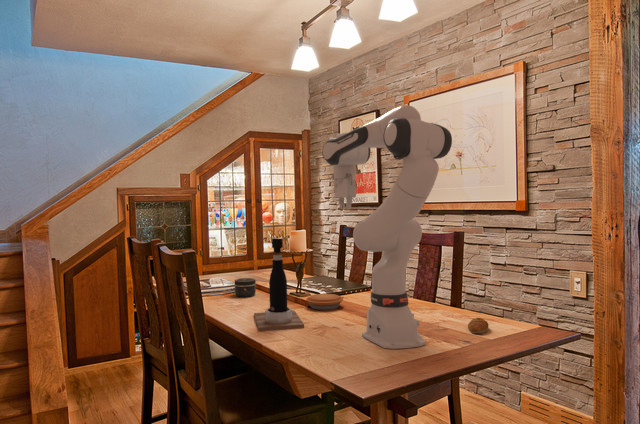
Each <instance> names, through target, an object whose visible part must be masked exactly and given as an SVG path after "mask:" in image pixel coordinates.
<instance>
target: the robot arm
mask: <svg viewBox="0 0 640 424" xmlns="http://www.w3.org/2000/svg"><path fill="white" fill-rule="evenodd" d="M452 144H453V136H452V133H451V131H450V129H448V128H446V127H444V126H442V125H441V124H437V123H433V122H426V121H423V120H422V118H421V113H420V112H419V111H418V110H417V109H416V108H415V107H414V106H411V105H408V104H406V105H401V106H398V107H395V108H393V109H392V110H390V111H388V112H386V113H384V114H382V115H380V117H378V118H376V119H374V120H372V121H370V122H368V123H366V124H364V125H361V126H358V127H356V128H354V129H352V130H350V131H349V132H341V133H338V134H336V135H335V137H329V139H327V141H326V142H324V144H323V146H322V157H323V159H324V160H325V162H326V163H327V164H328V165H330V166H333V173H332V175H331V179H332V180H333V190H334V197H335V198H336V199H338V203H339V209H341V210H352V203H353V198H356V196H357V184H356V183H357V182H356V179H357V170H356V169H357V167H356V166H359V165H360V166H361V165H364V164H366V163H367V162H368V161H369V159H370V157H371V151H372V150H371V148H372V149H373V148H375V149H387V150H388V152H389V153H391V154H392V155H393V158H394V159H395V160H397V161H400V160H402V163H403V164H402V168H401V170H400V172H399V174H398V176H397V178H396V179H395V181H394V183H393V186H392V187H391V190H390V191H389V193H388V194H387V197H386V198H385V200H384V201H383V202H382V203H381V204H380V205H379V206H378V207H377V208H376V209H375V210H374V211H373V212H372V213H371V214H370V215H368V216H367V217H365V218H364V219H363V220H360V221H359V222H357V223H356V224H355V226H354V227H353V228H354V229H353V231H352V232H353V233H352V239H353V241H354V245H355V246H356V247H357V248H358V250H361V251H364V252H370V253H379V252H383V253H382V256H381V258H380V260H379V261H378V262H377V263H376V264H375V265H374V266H372V270H371V292H370V302H371V305H370V306H369V308H368V309H367V311H366V324H365V325H366V327H365V328H366V329H365V331H363V332H362V337H363V338H365V339H367V340H369V341H370V342H373V343H374V344H376V345H377V346H379V347H381V348H383V349H391V350H392V349H395V350H396V349H398V350H399V349H410V348H417V347H423V346H425V345H426V340H425V339H424V338H423V336H422V335H421V334H420V333H419V331H418V327H420V324H421V323H420V320H419V319H418V318H417V319H415V313H413V312H412V310H411V309H410V306H409V296H408V293H407V290H406V289H407V287H406V286H407V285H406V284H407V283H406V280H407V279H406V278H407V267H408V262H409V259H410V257H411V254H412V252H413V251H414V249H415V248H416V247H417V245H418V244H419V243H420V242H421V240H422V236H423V230H422V227H421V224H420V223H419V222H418V220H416V217H417V216H418V215H419V213H420V212H421V210H422V209H423V207H424V205H425V204H426V201H427V199H428V197H429V195H430V194H431V192H432V190H433V188H434V185H435V182H436V181H437V176H438V174H439V169H440V167H439V163H438V161H436V160H437V159H442V158H444V157H446V156H447V155H448V154H449V152H450V151H451V148H452ZM345 201H346V204H345Z"/></svg>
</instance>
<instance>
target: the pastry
mask: <svg viewBox="0 0 640 424" xmlns="http://www.w3.org/2000/svg"><path fill="white" fill-rule="evenodd" d="M489 327H490V326H489V323H488V321H487V320H485V319H484V318H482V317H475V318H472V319H471V320H470V321H469V322H468V324H467V328H468V330H469V332H470V333H472V334H481V335H483V334H486V333H488V330H489ZM485 332H486V333H485Z"/></svg>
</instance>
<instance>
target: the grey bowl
mask: <svg viewBox="0 0 640 424" xmlns="http://www.w3.org/2000/svg"><path fill="white" fill-rule="evenodd" d="M292 310H293V309H292V307H290V306H289V307H288V306H287V311H285V312H270V307H268V308H265V310H264V312H265V321H266V322H267V323H271V324H284V323H288V322H291V321H292Z"/></svg>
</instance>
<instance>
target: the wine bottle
mask: <svg viewBox="0 0 640 424" xmlns="http://www.w3.org/2000/svg"><path fill="white" fill-rule="evenodd" d="M271 248H272V249H273V255H272V257H273V258H272V267H271V268H272V269H271V272H270V275H269V282H268V284H269V308H270V312H285V311H287V307H288V282H287V275H286V272H285V269H284V264H283V263H284V262H283V261H284V259H283V255H282V251H281V250H282V249H283V238H272V239H271Z"/></svg>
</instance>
